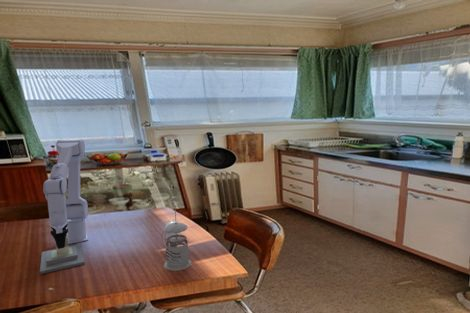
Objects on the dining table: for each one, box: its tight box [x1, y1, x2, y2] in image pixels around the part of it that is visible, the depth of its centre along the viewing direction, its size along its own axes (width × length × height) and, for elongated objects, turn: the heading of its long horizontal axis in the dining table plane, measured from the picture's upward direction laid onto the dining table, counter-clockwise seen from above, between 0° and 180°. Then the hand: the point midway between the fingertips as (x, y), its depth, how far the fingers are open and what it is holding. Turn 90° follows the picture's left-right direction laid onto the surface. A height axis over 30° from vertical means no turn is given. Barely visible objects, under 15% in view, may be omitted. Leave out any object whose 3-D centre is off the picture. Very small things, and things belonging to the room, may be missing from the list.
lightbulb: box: [165, 220, 181, 244], centre depth 128 cm, size 6×6×11 cm
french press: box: [160, 196, 192, 272], centre depth 113 cm, size 10×12×25 cm
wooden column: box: [55, 234, 70, 255], centre depth 119 cm, size 4×4×6 cm
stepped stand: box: [39, 243, 86, 275], centre depth 120 cm, size 18×14×3 cm
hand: (61, 245), depth 119 cm, fingers open, 5 cm apart
